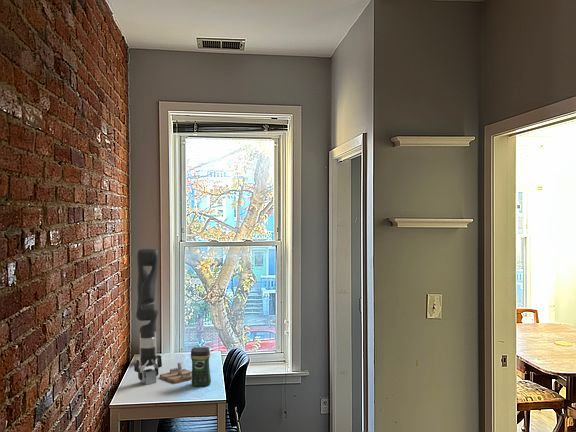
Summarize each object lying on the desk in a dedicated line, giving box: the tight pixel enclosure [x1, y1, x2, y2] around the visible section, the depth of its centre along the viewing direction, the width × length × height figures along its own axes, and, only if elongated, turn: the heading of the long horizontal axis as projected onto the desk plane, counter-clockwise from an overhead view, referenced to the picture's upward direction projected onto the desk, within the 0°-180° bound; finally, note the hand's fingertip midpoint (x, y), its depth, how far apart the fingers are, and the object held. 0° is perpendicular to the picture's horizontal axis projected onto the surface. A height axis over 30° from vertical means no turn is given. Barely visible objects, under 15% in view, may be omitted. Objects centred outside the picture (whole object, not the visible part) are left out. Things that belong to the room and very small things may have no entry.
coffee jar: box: [190, 346, 212, 387], centre depth 282 cm, size 10×8×19 cm
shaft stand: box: [159, 362, 192, 385], centre depth 295 cm, size 15×15×8 cm
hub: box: [139, 368, 157, 386], centre depth 287 cm, size 6×6×6 cm
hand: (148, 377), depth 287 cm, fingers open, 8 cm apart
